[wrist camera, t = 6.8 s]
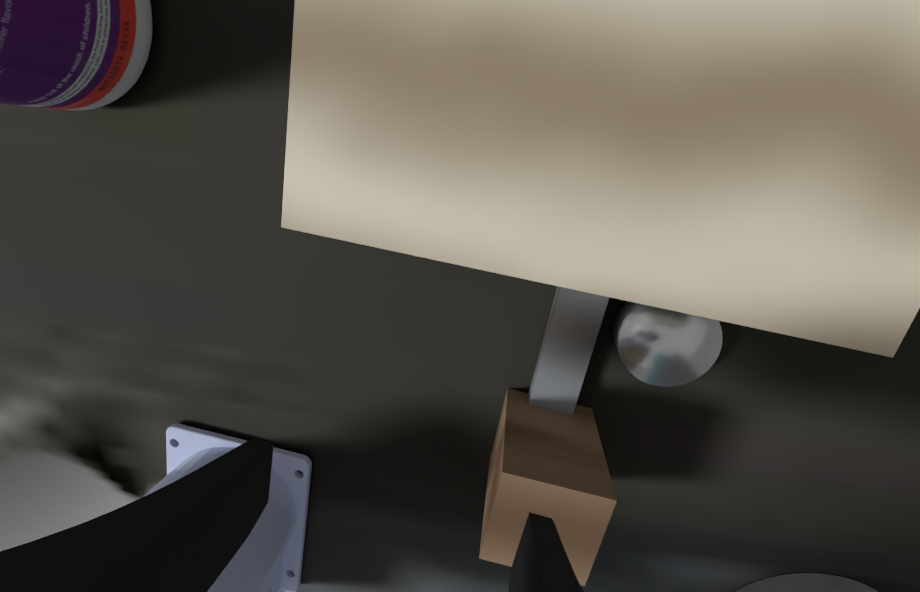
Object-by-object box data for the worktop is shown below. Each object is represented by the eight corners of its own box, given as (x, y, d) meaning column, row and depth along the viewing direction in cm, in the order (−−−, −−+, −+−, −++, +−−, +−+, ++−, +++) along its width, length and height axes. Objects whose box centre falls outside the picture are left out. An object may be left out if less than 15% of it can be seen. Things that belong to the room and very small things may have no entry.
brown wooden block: (670, 502, 22) (721, 622, 17) (490, 457, 23) (478, 558, 17) (764, 282, 19) (869, 338, 13) (546, 235, 19) (556, 269, 14)
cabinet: (761, 285, 19) (893, 357, 12) (362, 202, 20) (280, 227, 13) (868, 25, 16) (1121, -69, 9) (391, -54, 17) (305, -189, 10)
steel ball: (693, 377, 20) (705, 394, 19) (603, 362, 21) (609, 377, 19) (719, 293, 19) (735, 304, 18) (623, 278, 20) (631, 288, 18)
